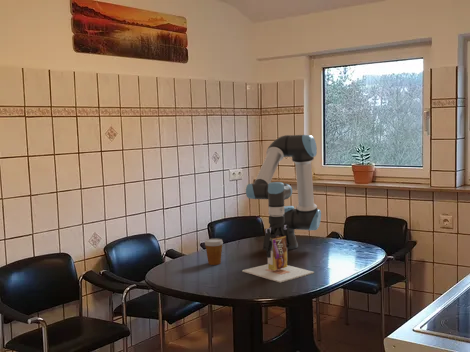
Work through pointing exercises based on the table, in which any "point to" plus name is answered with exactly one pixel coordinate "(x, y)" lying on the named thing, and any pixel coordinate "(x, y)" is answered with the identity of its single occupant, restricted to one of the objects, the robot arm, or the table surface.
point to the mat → (278, 273)
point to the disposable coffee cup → (214, 251)
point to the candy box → (278, 253)
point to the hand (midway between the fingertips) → (277, 262)
